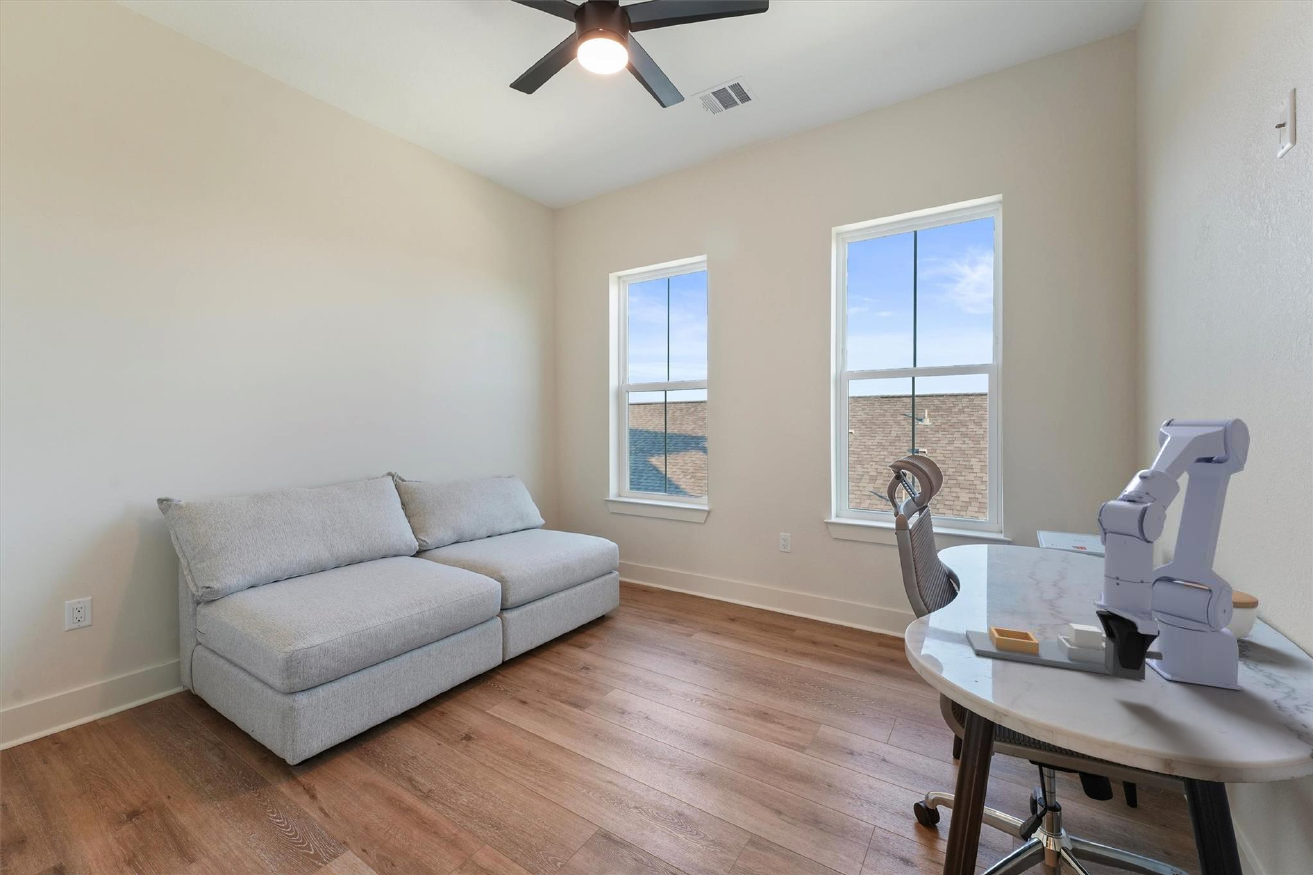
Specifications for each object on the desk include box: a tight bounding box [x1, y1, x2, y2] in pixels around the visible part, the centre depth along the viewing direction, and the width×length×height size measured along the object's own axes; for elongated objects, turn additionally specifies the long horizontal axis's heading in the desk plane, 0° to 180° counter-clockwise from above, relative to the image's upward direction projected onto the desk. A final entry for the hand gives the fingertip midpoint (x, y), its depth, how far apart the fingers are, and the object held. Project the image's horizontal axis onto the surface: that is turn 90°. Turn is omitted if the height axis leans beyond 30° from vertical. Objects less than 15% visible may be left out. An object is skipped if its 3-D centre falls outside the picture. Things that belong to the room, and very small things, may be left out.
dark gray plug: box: [1104, 637, 1162, 681], centre depth 84 cm, size 6×3×5 cm, turn 69°
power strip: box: [965, 622, 1113, 676], centre depth 99 cm, size 24×10×6 cm, turn 69°
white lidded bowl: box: [1181, 582, 1259, 641], centre depth 109 cm, size 13×13×11 cm
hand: (1124, 663), depth 84 cm, fingers closed on dark gray plug, 3 cm apart
